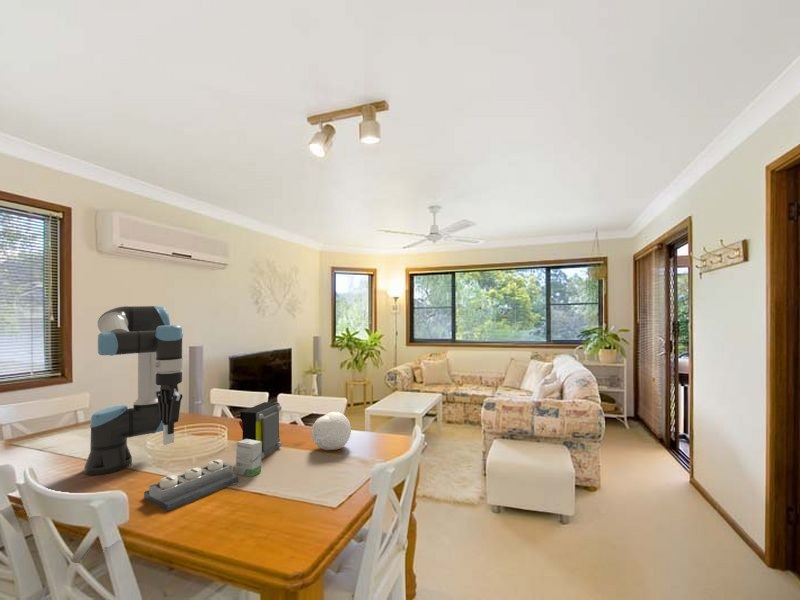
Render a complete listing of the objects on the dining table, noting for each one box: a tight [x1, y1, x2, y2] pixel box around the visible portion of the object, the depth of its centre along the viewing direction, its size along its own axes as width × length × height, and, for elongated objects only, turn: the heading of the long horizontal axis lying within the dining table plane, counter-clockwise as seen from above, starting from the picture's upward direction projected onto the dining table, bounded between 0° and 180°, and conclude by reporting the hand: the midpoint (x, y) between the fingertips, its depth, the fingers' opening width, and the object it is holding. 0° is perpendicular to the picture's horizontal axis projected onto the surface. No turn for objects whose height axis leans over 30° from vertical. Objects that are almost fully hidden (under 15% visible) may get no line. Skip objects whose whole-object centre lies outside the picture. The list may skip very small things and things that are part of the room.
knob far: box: [207, 459, 224, 472], centre depth 138 cm, size 5×5×4 cm
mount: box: [143, 461, 239, 512], centre depth 131 cm, size 16×24×5 cm, turn 146°
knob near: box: [159, 474, 178, 490], centre depth 124 cm, size 5×5×4 cm
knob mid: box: [184, 467, 201, 480], centre depth 131 cm, size 5×5×4 cm
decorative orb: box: [301, 411, 352, 451], centre depth 168 cm, size 20×18×16 cm
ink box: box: [235, 439, 262, 477], centre depth 145 cm, size 9×5×12 cm, turn 65°
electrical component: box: [238, 401, 283, 460], centre depth 164 cm, size 18×10×20 cm, turn 166°
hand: (168, 443), depth 125 cm, fingers closed
